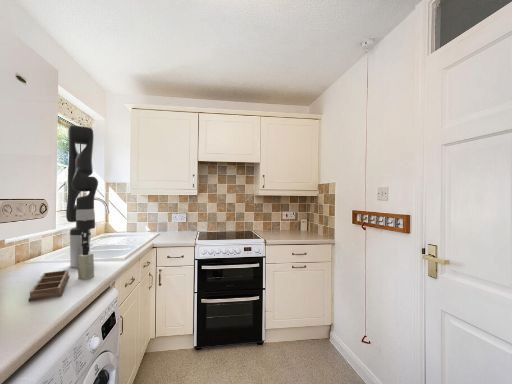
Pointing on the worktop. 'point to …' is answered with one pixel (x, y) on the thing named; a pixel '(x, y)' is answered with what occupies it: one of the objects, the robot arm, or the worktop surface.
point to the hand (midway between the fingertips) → (86, 253)
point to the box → (85, 266)
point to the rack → (49, 285)
